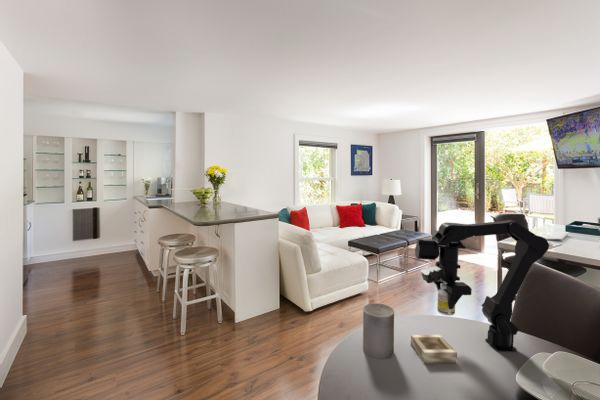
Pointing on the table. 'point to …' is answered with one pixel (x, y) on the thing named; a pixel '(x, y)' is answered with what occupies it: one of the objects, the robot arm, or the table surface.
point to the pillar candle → (378, 330)
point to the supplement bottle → (444, 301)
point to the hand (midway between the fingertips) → (446, 305)
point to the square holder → (433, 349)
